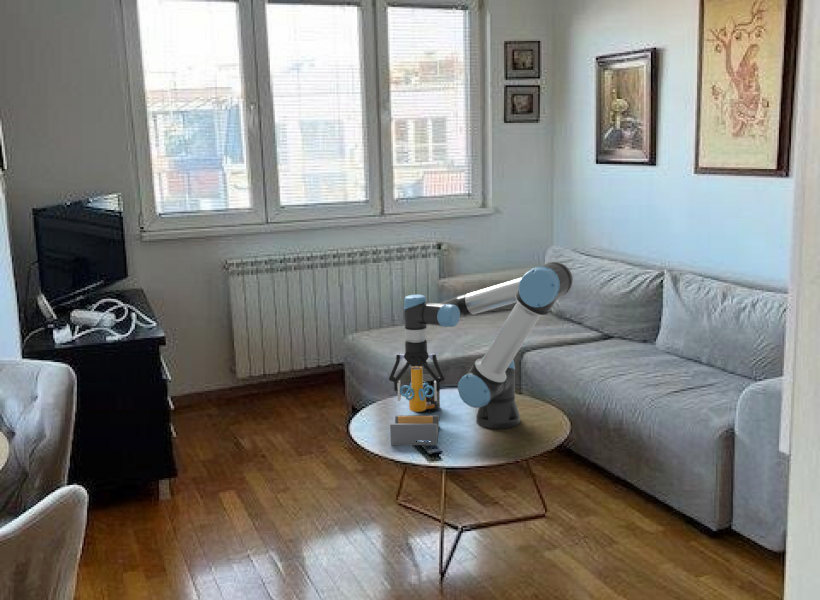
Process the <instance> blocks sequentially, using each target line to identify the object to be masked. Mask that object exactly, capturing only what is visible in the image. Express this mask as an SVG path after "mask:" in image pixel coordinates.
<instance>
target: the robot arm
mask: <svg viewBox="0 0 820 600" xmlns="http://www.w3.org/2000/svg"><path fill="white" fill-rule="evenodd" d="M572 287H573V274H572V271H571V270H570V268H569V267H567V265H565V264H564V263H562V262H557V261H551V262H547V263H545V264H543V265H540V266H535V267H533V268H531V269H529V270H527V272H525V273H524V275H523V276H521V277H518V278H514V279H512V280H508V281H505V282H500V283H498V284H495V285H491V286H489V287H485V288H481V289H478V290H475V291H472V292H469V293H468V292H467V293H465V294H459V295H456V296H455V297H453V298H450V299H448V300H445V301H442V302H440V303H439V302H438V303H437V302H429V301H427V298H426V295H423V294H409V295H406V296H405V297H404V300H403V301H404V303H403V315H404V338H405V341H404V348H405V349H404V350H405V352H404V354H403V353H400V352H398V353H397V354H396V358H395V359H396V360H395V363H394V365H393V368H392V370H391V372H390V375H389V376H388V377H389V378H388V380H389V381H390V382H393V384H394V388H393V389H394V392H397V402H401V399H402V398H401V397H402V395H401V393H400V389H401V380H400V379H401V378H402V376H403V375H404V374H405V373H406V371H407V370H408V369H409V367H410V366H411V368H412V367H416V366H418V367H422V366H423V368H424V369H425V370H426V371H427V372H428V374H430V375H431V376H432V377H433V378H434V380H435V381H434V400H435V401H437V391H441V382H443V381H445V379H446V376H445V374H444V372H443V369H442V367H441V365H440V363H439V361H438V359H437V353H436V352H433V353H428V340H427V337H428V336H427V333H428V331H427V326H428V325H429V326H438V327H443V328H448V327H449V328H451V327H456V326H457V325H458V323H459V322H460V319H462V318H466V317H469V316H470V317H471V316H473V315H476V314H479V313H484V312H487V311H490V310H494V309H496V308H501V307H504V306H508V305H511V304H515V305H514V306H513V308H512V309H511V311H510V312H509V315H508V317H507V318H506V319H505V321H504V323H503V324H502V326H501V327H500V329H499V330H498V333H497V334H496V336H495V337H494V339H493V340H492V343H491V344H490V345H489V347H488V349H487V350H486V352H485V354H484V356H483V357H481V358H480V357H479V358H477V359H475V361H474V363H473V365H472V366H471V368H470V369H469V371H468V372H467V374H464V375H462V377H461V378H460V379H459V381H458V382H457V383H458V384H457V392H458V394H459V395H458V396H459V397H460V399H461V400H462V401H463V403H465V404H466V406H468V407H471V408H475V409H476V408H478V409H477V412H476V416H475V417H476V419H475V421H476V423H477V425H479V426H480V427H483V428H488V429H498V430H501V429H503V430H505V429H511V428H514V427H516V426H518V425H520V423H521V415H520V411H519V409H518V406H517V403H516V394H515V393H516V386H515V385H516V383H515V382H516V367H515V366H516V365H515V361H514V359H515V358H516V355H517V353H519V351H520V349H521V347H522V346H523V344H524V343H525V341H526V340H527V339H528V337H529V335H530V333H531V332H532V330H533V329H534V327H535V325H536V324H537V322H538V321H539V319H540V317H546V316H547V315H548V314H549V313H550V311H551V309H552V308H553V306H554V305H555V303H556V302H557V300H558V299H560V298H562V297H564V296H566V295H567V294H568V293H569V292H570V290H571V289H572ZM403 359H405V361H406V363H405V364H404V366H403V367H402V368H401V369H400V371H399V372H398V373H397V375H396V371H397V369H398V367H399V365H400V361H402V360H403ZM428 359H430V361H433V363H432V364H434V367H435V369H436V372H437V373H438V374H437V373H436V372H435V370H434V369H433V368H432V366H431V365H430V364H429V362H428V361H427V360H428ZM395 375H396V376H395ZM394 376H395V377H394Z"/></svg>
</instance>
